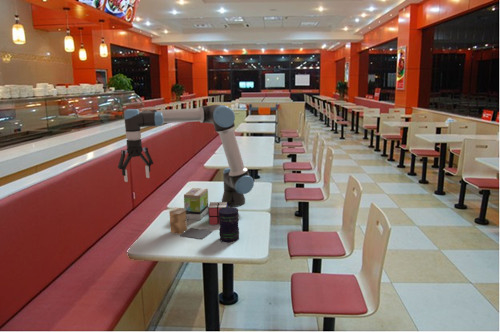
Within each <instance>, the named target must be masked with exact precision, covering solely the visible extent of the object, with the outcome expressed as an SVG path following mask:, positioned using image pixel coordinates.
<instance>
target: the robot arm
mask: <svg viewBox="0 0 500 332" xmlns="http://www.w3.org/2000/svg"><path fill="white" fill-rule="evenodd" d="M123 112H124V113H123V114H124V116H123V117H124V128H125V139H126V149H124V150H123V149H122V150H121V152H120V153H121V154H120V158H119V162H118V166H117V169H119V170H121V175H122V176H123V179H124V183H125V182H126V183H128V182H129V181H128V179H129V177H128V170H127V166H128V165H129V163H130V162H131V159H132V158H135V157H139V158H141V160H142V161H143V162H144V164H146V165H145V166H144V167H145V177H146V178H147V179H150V172H151V166H152V165H154V161H153V159H152V156H151V155H150V152H149V148H148V147H146V146H145V147H143V144H142V143H143V142H142V139H141V138H142V134H141V132H142V131H141V130H142V129H141V128H146V127H147V128H149V127H161V126H163V125H164V124H172V123H189V122H190V123H191V122H192V123H193V122H200V124H202V123H206V124H212V125H213V126H214V130H215V132H216V133H217V134H218V135H219V138H220V140H221V144H222V148H223V150H224V154H225V155H224V156H225V157H226V161H227V164H228V167H226V168H224V169H223V171H222V172H223V173H222V175H223V177H222V179H223V194H222V198H221V202H228V207H239V206H242V205H245V204H246V197H245V195H246V194H248V193H250V192H251V191H252V189H253V188H254V186H255V182H254V178H253V177H252V176H250V173H249V169H248V168H247V167H245V165H244V161H243V158H242V155H241V152H240V148H239V144H238V141H237V137H236V134H235V129H234V128H235V127H236V125H235V121H236V120H235V119H236V114H235V112H234V110H233V109H232V108H231V107H229V106H227V105H221V104H211V105H210V104H209V105H203V106H199V107H197V108H196V107H195V108H174V109H156V110H155V109H152V110H150V109H149V110H148V109H145V110H142V111H141V112H140V110H139V109H137V108H128V109H125V110H124V111H123ZM142 152H144V154H145V156H144V154H143V153H142ZM126 155H127V156H126ZM125 158H126V159H125Z"/></svg>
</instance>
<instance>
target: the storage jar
mask: <svg viewBox="0 0 500 332" xmlns="http://www.w3.org/2000/svg"><path fill="white" fill-rule="evenodd" d="M239 217H240V216H239V209H238V208H237V207H235V206H228V207H225V208H221V209H219V222H220V225H219V235H218V236H219V240H220V241H221V242H222V243H228V244H229V243H235V242H237V241H239V240H240V227H239V220H240V218H239Z"/></svg>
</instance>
